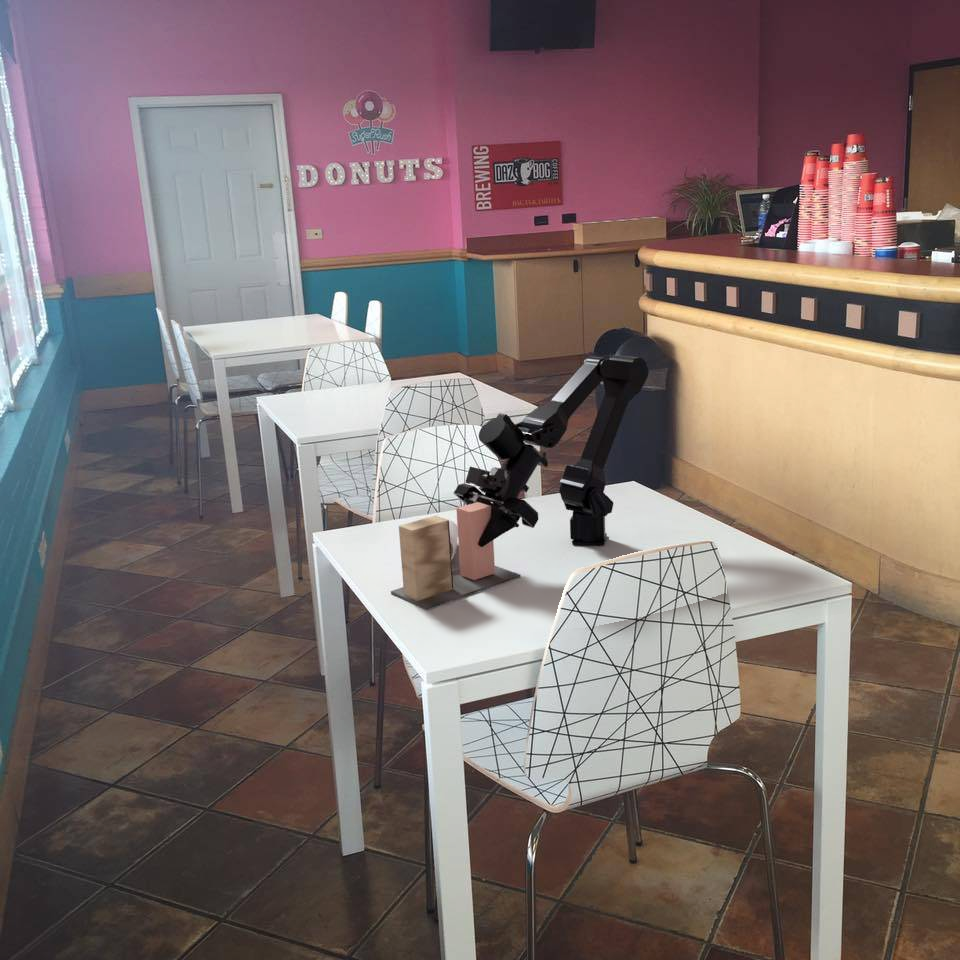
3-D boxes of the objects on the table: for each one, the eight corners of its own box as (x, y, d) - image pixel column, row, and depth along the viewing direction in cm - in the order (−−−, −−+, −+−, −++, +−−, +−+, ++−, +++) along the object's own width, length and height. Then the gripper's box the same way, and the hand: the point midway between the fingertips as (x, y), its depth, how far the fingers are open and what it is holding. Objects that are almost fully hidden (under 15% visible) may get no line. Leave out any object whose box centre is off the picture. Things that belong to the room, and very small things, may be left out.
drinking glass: (460, 513, 210) (452, 531, 196) (464, 545, 212) (457, 565, 197) (427, 517, 211) (417, 535, 196) (432, 548, 212) (422, 569, 198)
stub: (481, 568, 194) (477, 502, 191) (495, 573, 191) (491, 506, 188) (460, 575, 191) (456, 508, 188) (474, 580, 188) (470, 512, 185)
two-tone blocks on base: (483, 563, 199) (479, 496, 196) (520, 577, 191) (517, 507, 187) (390, 593, 186) (385, 522, 183) (426, 609, 178) (421, 535, 174)
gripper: (458, 442, 195) (415, 510, 191) (523, 457, 181) (478, 531, 177) (492, 473, 202) (451, 540, 198) (558, 490, 188) (515, 563, 184)
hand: (472, 543), depth 189 cm, fingers closed on stub, 4 cm apart
